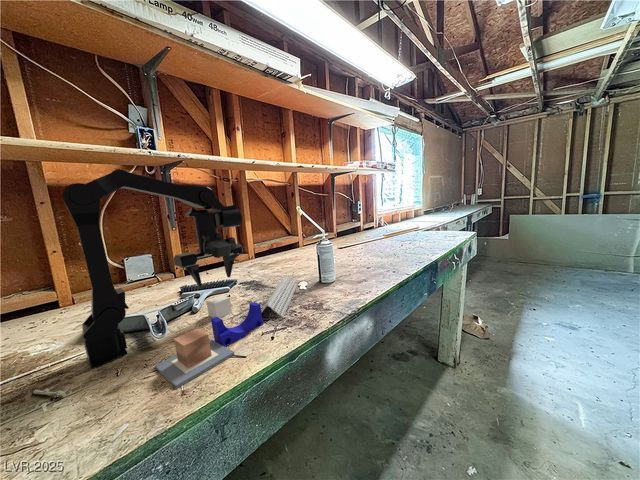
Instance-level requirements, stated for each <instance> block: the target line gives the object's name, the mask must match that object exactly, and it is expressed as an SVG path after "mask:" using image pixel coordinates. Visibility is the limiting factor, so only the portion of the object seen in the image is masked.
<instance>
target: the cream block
mask: <svg viewBox="0 0 640 480" xmlns="http://www.w3.org/2000/svg"><path fill="white" fill-rule="evenodd" d="M205 301H206V308H207V313H208V316H209V317H211V318H215V317H218V318H220V319H222V318H223V317H225V316H227V315H230V314H232V313H233V308H232V303H231V297H229V296H226V295H223V294H219V295H218V296H214V297H211V298H209V299H207V300H205Z"/></svg>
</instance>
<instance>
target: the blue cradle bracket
mask: <svg viewBox="0 0 640 480" xmlns="http://www.w3.org/2000/svg"><path fill="white" fill-rule="evenodd" d="M248 307H249V310H248V313H247V315H246V317H245V318H244V320H243V321H242V322H241V323H239V324H238V325H235V326H232V327H227V326H226V325H225V324H224V321H223V319H222V318H218V317H215V318H213V317H211V319H210V321H211V327H212V334H213V339H214V340H213V341H215V342H217V343H219V344H221V345H222V346H224V347H227V346H229V345H230V344H233V343H235V342H237V341H239V340H241V339H243V338H245V337H246V336H247V334H246V333H248V332H251V331H252V330H255V329H257V328H259V327H261V326H263V325H264V323H263V316H262V315H263V314H262V313H261V310H262V307H261V303H258V302H256V301H254V302H250V303H249V306H248Z"/></svg>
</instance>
